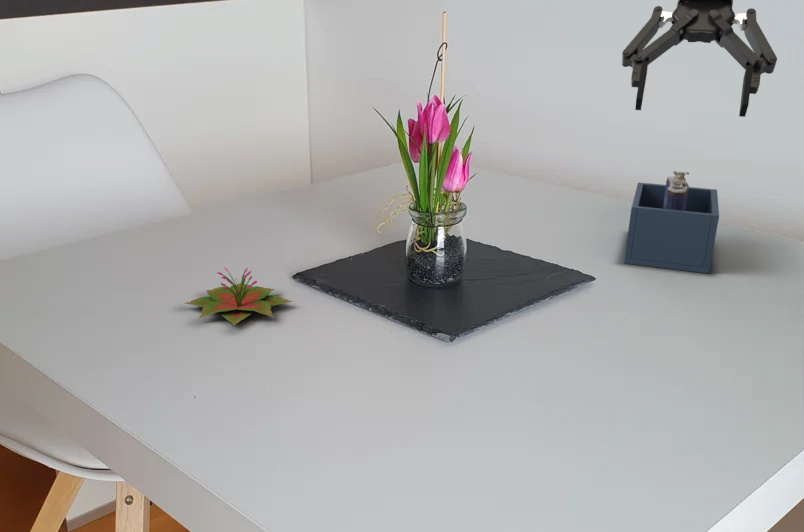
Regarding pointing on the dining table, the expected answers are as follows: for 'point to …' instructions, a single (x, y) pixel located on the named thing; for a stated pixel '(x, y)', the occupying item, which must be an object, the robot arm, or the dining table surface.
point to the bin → (672, 230)
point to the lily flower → (237, 300)
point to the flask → (676, 192)
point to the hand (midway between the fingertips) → (690, 107)
